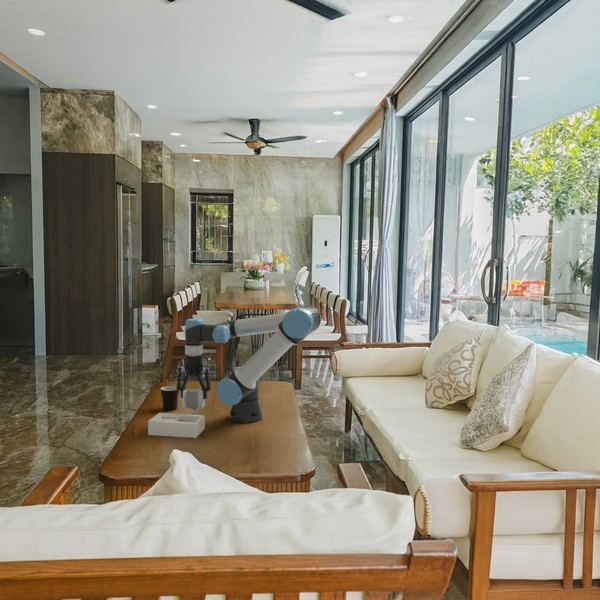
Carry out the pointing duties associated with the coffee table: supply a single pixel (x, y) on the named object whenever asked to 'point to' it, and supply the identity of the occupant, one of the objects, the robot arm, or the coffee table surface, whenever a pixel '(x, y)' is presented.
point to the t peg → (193, 399)
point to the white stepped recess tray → (176, 425)
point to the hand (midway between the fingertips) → (193, 405)
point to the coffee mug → (169, 397)
